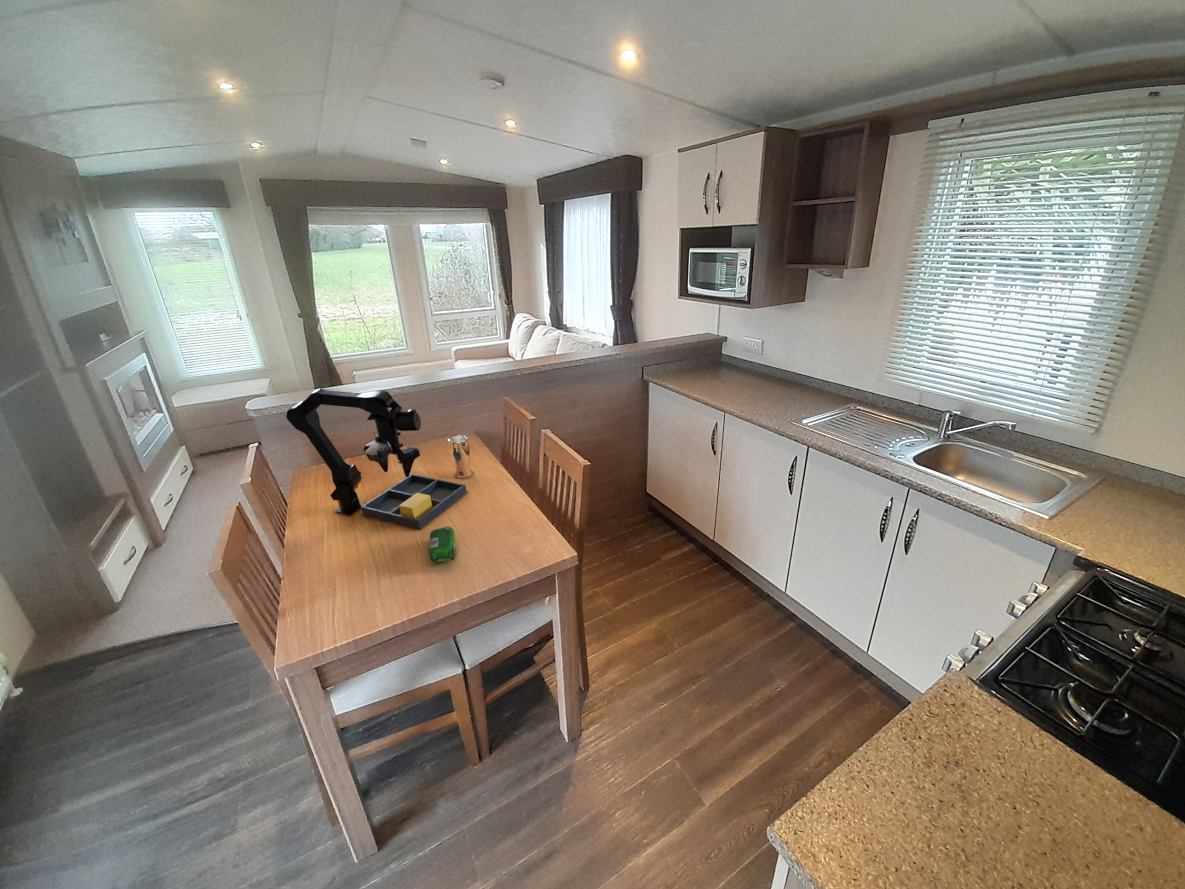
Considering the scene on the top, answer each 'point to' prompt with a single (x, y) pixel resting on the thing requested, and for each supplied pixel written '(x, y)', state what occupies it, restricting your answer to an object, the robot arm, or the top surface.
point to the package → (416, 506)
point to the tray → (390, 500)
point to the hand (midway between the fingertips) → (396, 474)
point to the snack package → (442, 544)
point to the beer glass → (461, 456)
